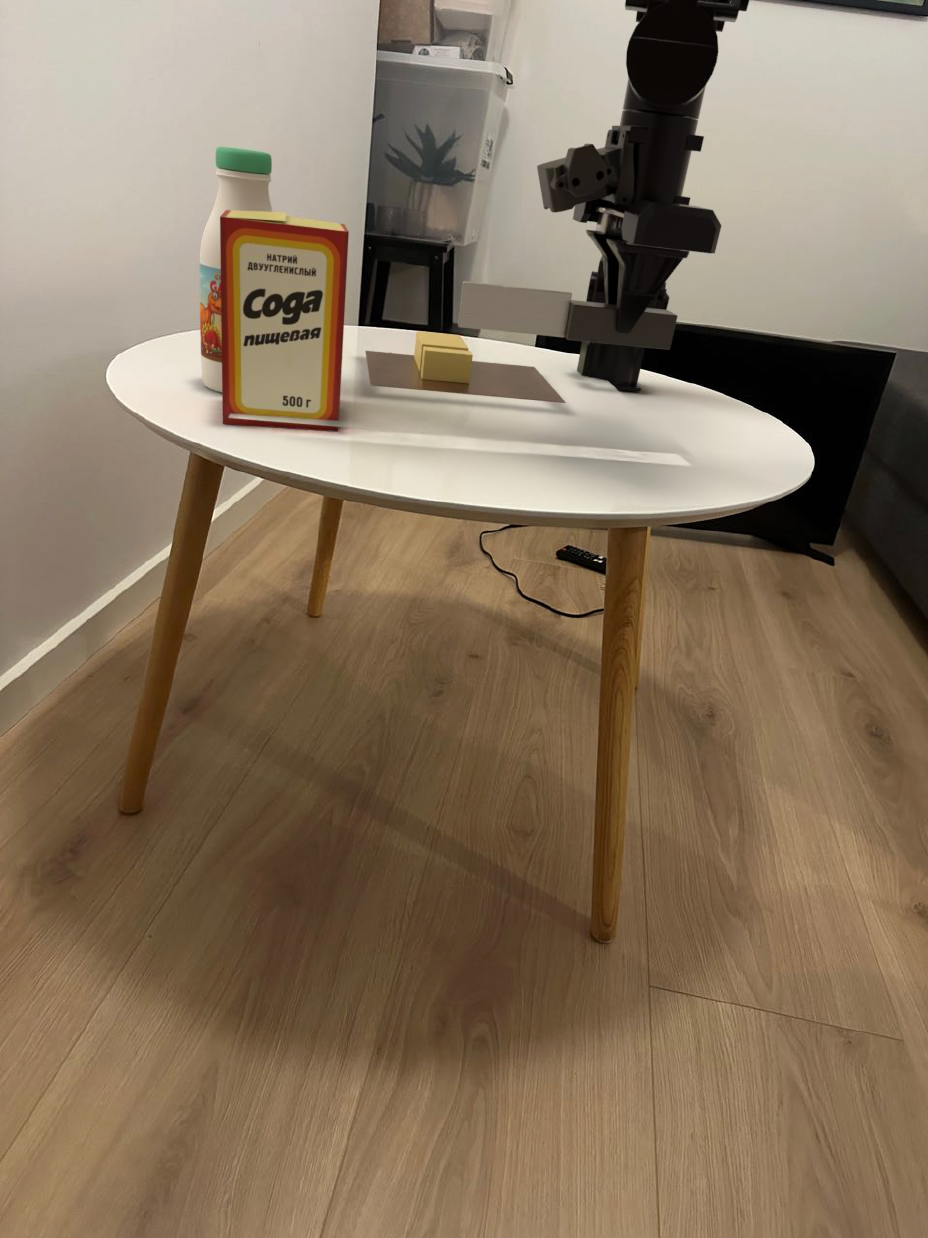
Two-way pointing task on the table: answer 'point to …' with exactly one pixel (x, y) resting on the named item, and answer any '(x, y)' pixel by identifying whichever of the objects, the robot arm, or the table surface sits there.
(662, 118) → the robot arm
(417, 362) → the butter
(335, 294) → the baking soda box
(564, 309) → the knife
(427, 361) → the butter slice
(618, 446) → the table surface
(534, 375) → the board
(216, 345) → the milk bottle
